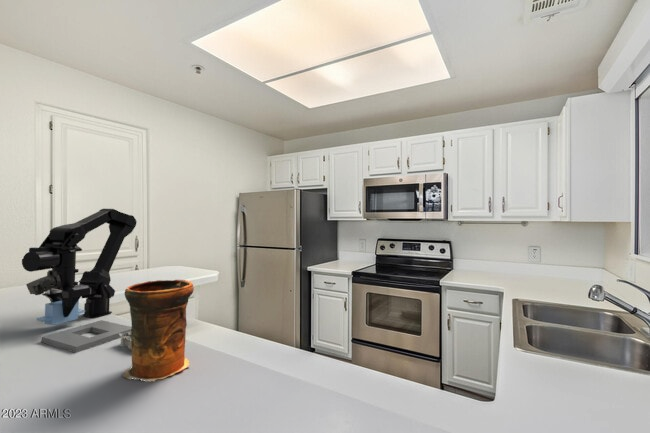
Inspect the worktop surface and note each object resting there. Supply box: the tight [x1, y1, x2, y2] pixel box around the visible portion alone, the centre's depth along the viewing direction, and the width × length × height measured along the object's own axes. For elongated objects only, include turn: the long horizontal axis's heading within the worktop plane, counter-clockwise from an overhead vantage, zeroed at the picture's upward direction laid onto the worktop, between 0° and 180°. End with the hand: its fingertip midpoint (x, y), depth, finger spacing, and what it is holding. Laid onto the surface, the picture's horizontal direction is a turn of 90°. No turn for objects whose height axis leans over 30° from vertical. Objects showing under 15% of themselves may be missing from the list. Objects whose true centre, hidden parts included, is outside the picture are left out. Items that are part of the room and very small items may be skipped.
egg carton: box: [119, 331, 131, 351], centre depth 86 cm, size 11×8×4 cm
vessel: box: [122, 279, 195, 383], centre depth 73 cm, size 14×14×20 cm
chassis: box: [40, 319, 132, 353], centre depth 90 cm, size 16×16×2 cm
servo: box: [36, 299, 85, 326], centre depth 97 cm, size 4×11×7 cm, turn 158°
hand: (61, 315), depth 97 cm, fingers closed on servo, 4 cm apart
